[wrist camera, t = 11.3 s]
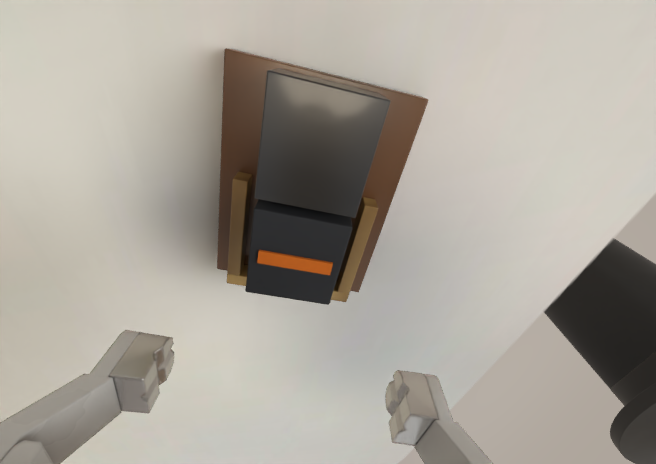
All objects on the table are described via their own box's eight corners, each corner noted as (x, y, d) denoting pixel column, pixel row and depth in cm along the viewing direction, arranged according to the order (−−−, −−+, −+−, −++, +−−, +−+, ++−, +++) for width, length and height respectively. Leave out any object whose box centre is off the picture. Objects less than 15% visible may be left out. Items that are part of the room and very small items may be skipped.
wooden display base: (423, 97, 15) (451, 108, 12) (357, 283, 22) (363, 325, 18) (230, 48, 14) (199, 45, 11) (221, 260, 21) (200, 300, 17)
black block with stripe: (349, 202, 17) (353, 229, 15) (328, 273, 20) (329, 307, 17) (264, 185, 17) (252, 209, 14) (255, 261, 19) (244, 293, 17)
